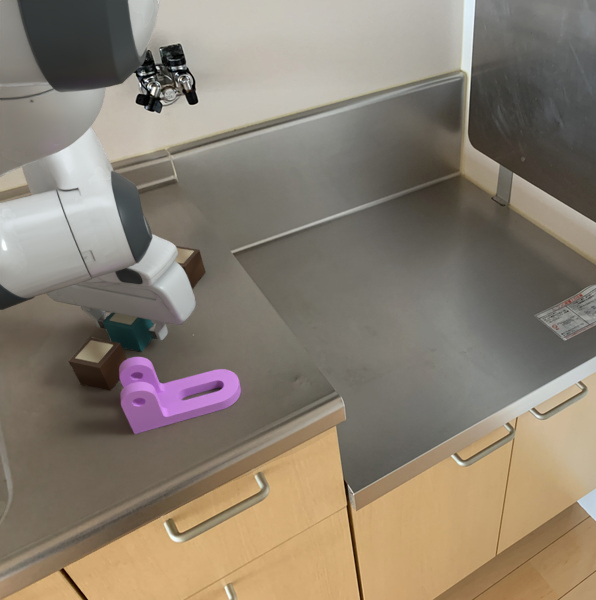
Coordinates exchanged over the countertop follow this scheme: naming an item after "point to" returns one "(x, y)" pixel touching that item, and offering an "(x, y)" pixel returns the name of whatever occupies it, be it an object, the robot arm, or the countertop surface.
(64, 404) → the countertop surface
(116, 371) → the block
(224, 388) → the bracket
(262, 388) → the countertop surface
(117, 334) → the letter block
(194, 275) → the block
